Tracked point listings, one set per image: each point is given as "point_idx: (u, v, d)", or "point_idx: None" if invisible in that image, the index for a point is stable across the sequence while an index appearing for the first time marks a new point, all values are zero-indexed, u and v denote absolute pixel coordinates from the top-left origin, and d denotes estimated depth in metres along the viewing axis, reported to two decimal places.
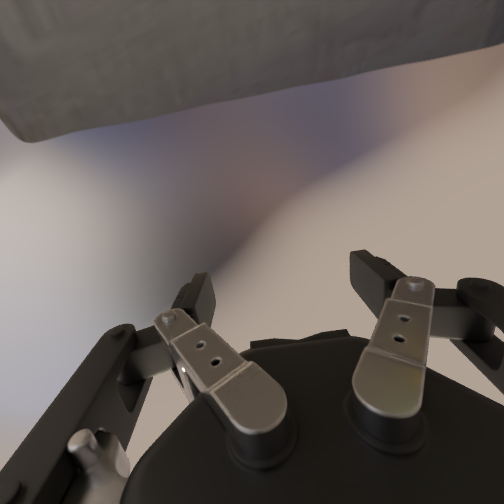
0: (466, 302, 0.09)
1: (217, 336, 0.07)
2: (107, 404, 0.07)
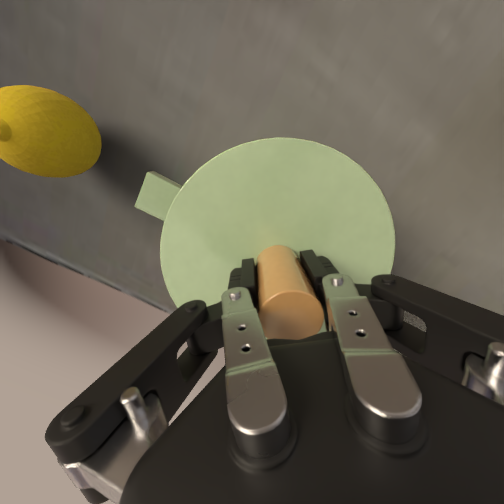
0: (377, 296, 0.10)
1: (259, 325, 0.08)
2: (164, 369, 0.08)
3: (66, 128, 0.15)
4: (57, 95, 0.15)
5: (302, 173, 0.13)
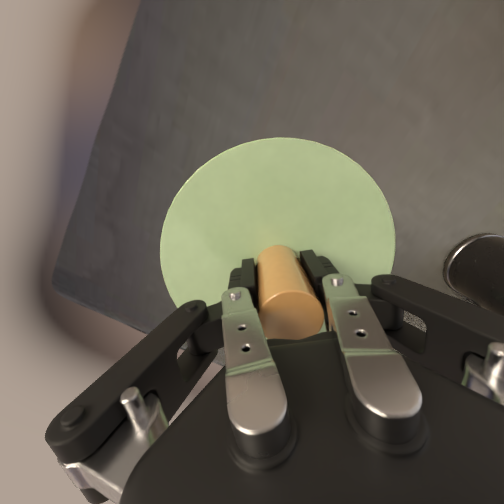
0: (377, 296, 0.10)
1: (259, 325, 0.08)
2: (164, 369, 0.08)
3: None
4: None
5: (303, 173, 0.13)
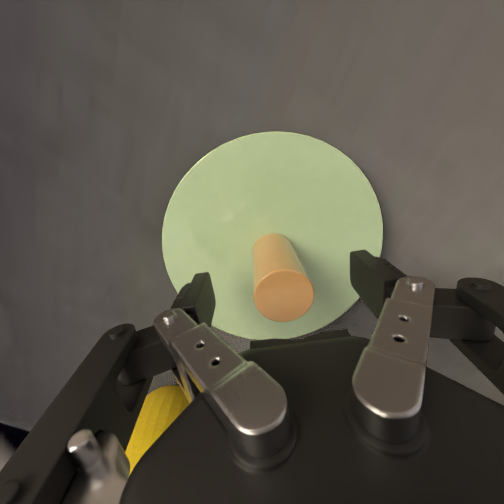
0: (466, 302, 0.09)
1: (217, 336, 0.07)
2: (107, 404, 0.07)
3: None
4: None
5: (296, 165, 0.14)
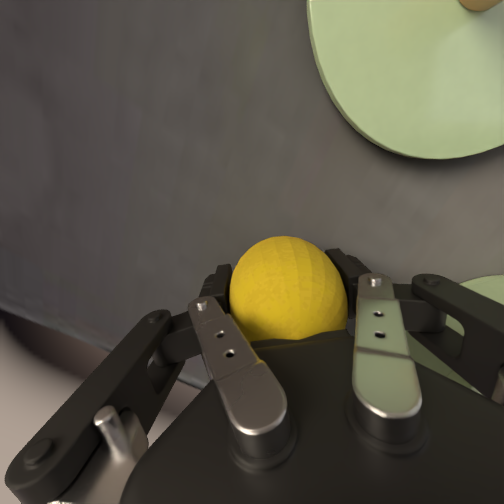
0: (419, 296, 0.09)
1: (237, 329, 0.08)
2: (136, 384, 0.08)
3: (347, 310, 0.10)
4: (324, 257, 0.11)
5: None
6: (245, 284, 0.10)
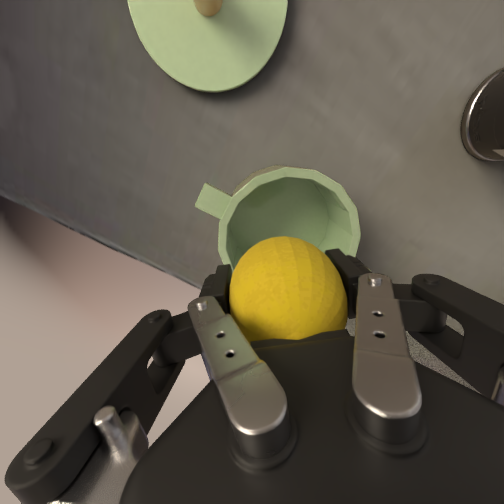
0: (419, 296, 0.09)
1: (237, 329, 0.08)
2: (135, 384, 0.08)
3: (347, 310, 0.10)
4: (324, 257, 0.11)
5: None
6: (245, 284, 0.10)
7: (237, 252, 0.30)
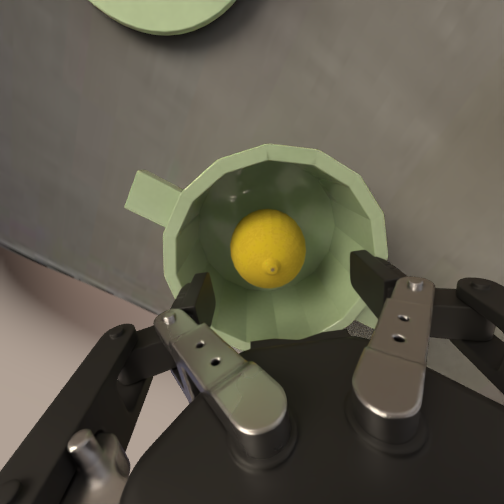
0: (466, 302, 0.09)
1: (217, 336, 0.07)
2: (107, 404, 0.07)
3: (305, 252, 0.17)
4: (290, 219, 0.17)
5: None
6: (240, 234, 0.16)
7: None
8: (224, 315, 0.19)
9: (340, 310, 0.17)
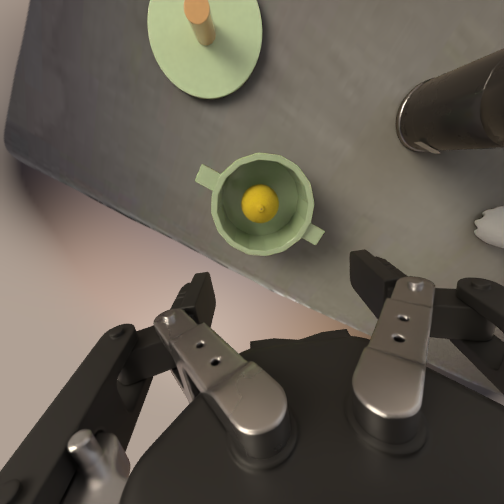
0: (466, 302, 0.09)
1: (217, 336, 0.07)
2: (107, 404, 0.07)
3: (277, 204, 0.34)
4: (271, 188, 0.35)
5: None
6: (246, 195, 0.34)
7: (227, 220, 0.39)
8: (238, 239, 0.36)
9: (295, 233, 0.35)
